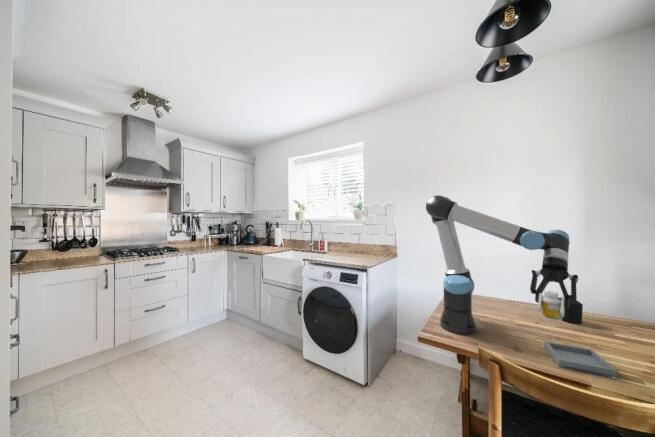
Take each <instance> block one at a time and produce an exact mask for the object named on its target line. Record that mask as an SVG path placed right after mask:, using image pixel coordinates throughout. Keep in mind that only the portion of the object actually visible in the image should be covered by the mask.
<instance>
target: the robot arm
mask: <svg viewBox="0 0 655 437" xmlns="http://www.w3.org/2000/svg"><path fill="white" fill-rule="evenodd" d="M425 210H426V212H427V214H428V215H429V216H430V217H431V221H432V224H434V225H435V226H436V228H437V232H438V236H439V241H440V246H441V249H442V254H443V258H444V262H445V266H446V270H445V272H444V275H445V277H444V278H443V284H442V286H443V310H442V312H441V315H440V318H439V325H440V327H441V328H442V329H444V330H447V331H448V332H450V333H453V334H458V335H473V334H475V333H476V332H477V325H476V321H475V319H474V316H473V315H474V314H473V312H472V311H473V309H472V306H473V305H472V304H473V302H472V300H473V299H472V297H473V293H474V291H475V282H474V280H473V278H472V275H471V271H470V269H468V267H466V264H465V261H464V258H463V253H462V249H461V245H460V242H459V238H458V234H457V230H456V226H455V222H456V223H459V224H461V225H464V226H467V227H470V228H471V229H474V230H477V231H479V232H484V233H485V234H489V235H491V236H494V237H496V238H499V239H501V240H504V241H507V242H510V243H512V244H514V245H517V246H520V247H523V248H524V249H527V250H530V251H536V250H543V258H542V262H541V264H542V266H541V269H539V270H537V271H536V270H533V269H532V270H531V274H532V277H531V282H530V287H529V290H530V293H531V294H533V295H535V297H534V300H535V303H537V310H538V312H539V313H543V312H542V298H543V297H544V294H543V293H544V292H545V289H546V287H547V286H548V285H549V283H550V282H551V283H558V285H559V287H560V289H561V292H562V295H563V296H561V297H560V298H561V309H560V313H561V316H563V317H564V310H565V308H569V301H570V300H574V301H576V300H577V301H578V299H577V283H578V282H579V276H578V275H577V274H570V273H569V272H568V271H569V270H568V268H569V267H568V266H569V250H570V236H569V234H568V233H567V232H566V231H564V230H561V229H550V230H549V231H547V232H541V231H536V230H532V229H529V228H526V227H523V226H520V225H517V224H515V223H512V222H508V221H506V220H504V219H503V220H502V219H500V218H496V217H495V216H494V217H493V216H490V215H487V214H485V213H483V212H479V211H476V210H473V209H470V208H468V207H464V206H461V205H459V204H458V202H456V201H453V200H451V199H450V198H448V197H446V196H443V195H439V194H438V195H433V196H431V197H430V198H428V200H427V201H426V204H425ZM540 275H541V276H542V280H541V282H540V283H539V285H538V287H537V284H538V278H539V277H540ZM566 279H569V281H570V294H569V293H568V291H567V288H566V285H565V283H564V281H565V280H566Z"/></svg>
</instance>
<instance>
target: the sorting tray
mask: <svg viewBox="0 0 655 437" xmlns="http://www.w3.org/2000/svg"><path fill="white" fill-rule="evenodd" d="M543 348H544V349H545V351H546V352H547V354H548V355H549V356H550V358H552V360H553V361H554V363H555V364H556V365H557V366H558V367H559V368H562V369H569V370H572V371H577V372H582V373H587V374H592V375H597V376H601V377H607V378H611V377H615V378H614V379H616V378H617V379H618V370H617V369H616V368H615V367H614V366H612V365H611V364H610V363H609V362H608V361H607V360H606V359H604V358H603V357H602V356H601V355H600V354H599V353H597V352H596V351H595V350H594V349H593V348H586V347H581V346H576V345H575V346H574V345H569V344H564V343H557V342H552V341H548V340H543Z"/></svg>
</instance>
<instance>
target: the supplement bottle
mask: <svg viewBox="0 0 655 437" xmlns="http://www.w3.org/2000/svg"><path fill="white" fill-rule="evenodd" d="M558 298H560V297H559V292H556V291H551V290H546V291H545V290H544V291H543V298H542V312H541V313H542V318H544V319H545V320H549V321H553V322H562V321H561V320H562V316H561V313H560V309H561V300H560V299H558Z"/></svg>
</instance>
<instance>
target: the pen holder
mask: <svg viewBox="0 0 655 437" xmlns="http://www.w3.org/2000/svg"><path fill="white" fill-rule="evenodd" d="M558 299H560V300H561V297H558ZM583 305H584V304H583V303H581V302H580V301H578V299H577V300H576V301H574V300H570V301H569V308H565V310H564V317H563V316H562V320H561V321H560V322H564V323H568V324H573V325H574V324H575V325H580V324H582V323H583V308H584V306H583Z"/></svg>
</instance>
